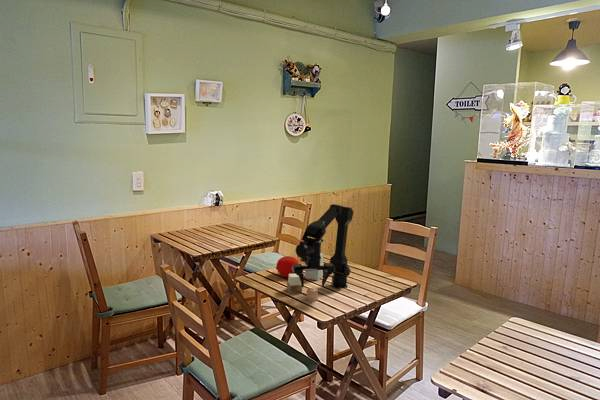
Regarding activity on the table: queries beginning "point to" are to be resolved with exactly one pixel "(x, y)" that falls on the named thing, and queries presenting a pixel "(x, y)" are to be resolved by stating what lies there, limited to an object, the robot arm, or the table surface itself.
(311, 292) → the brown rounded lump
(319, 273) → the supplement box
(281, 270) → the tomato
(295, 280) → the cream block
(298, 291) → the walnut base block
